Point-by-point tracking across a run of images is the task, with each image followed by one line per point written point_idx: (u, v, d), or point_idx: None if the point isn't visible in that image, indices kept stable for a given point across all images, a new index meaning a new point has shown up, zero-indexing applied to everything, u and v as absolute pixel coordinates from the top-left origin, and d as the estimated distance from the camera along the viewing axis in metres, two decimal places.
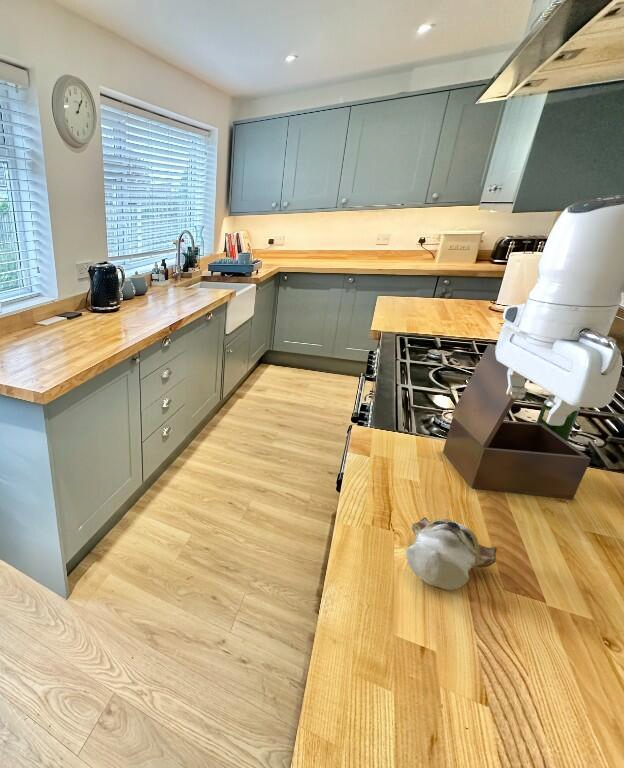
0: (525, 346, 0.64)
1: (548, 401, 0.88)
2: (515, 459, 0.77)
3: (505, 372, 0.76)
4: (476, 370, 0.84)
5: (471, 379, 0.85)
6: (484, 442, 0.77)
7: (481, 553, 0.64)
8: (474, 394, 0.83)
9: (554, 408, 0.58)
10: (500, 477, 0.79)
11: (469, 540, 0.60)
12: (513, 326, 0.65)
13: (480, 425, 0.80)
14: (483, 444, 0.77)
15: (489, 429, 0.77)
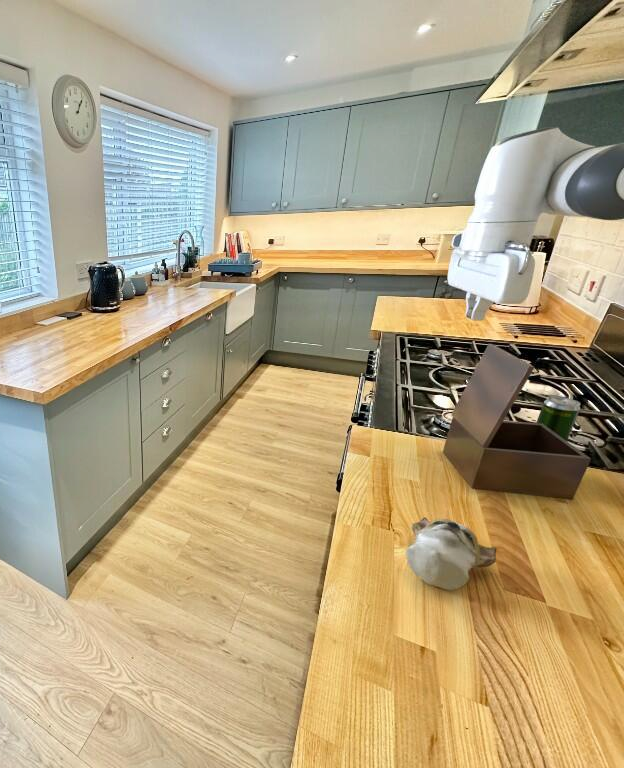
0: (468, 266, 0.76)
1: (548, 401, 0.88)
2: (515, 459, 0.77)
3: (505, 372, 0.76)
4: (476, 370, 0.84)
5: (471, 379, 0.85)
6: (484, 442, 0.77)
7: (481, 553, 0.64)
8: (474, 394, 0.83)
9: (475, 305, 0.74)
10: (500, 477, 0.79)
11: (469, 540, 0.60)
12: (459, 250, 0.77)
13: (480, 425, 0.80)
14: (483, 444, 0.77)
15: (489, 429, 0.77)
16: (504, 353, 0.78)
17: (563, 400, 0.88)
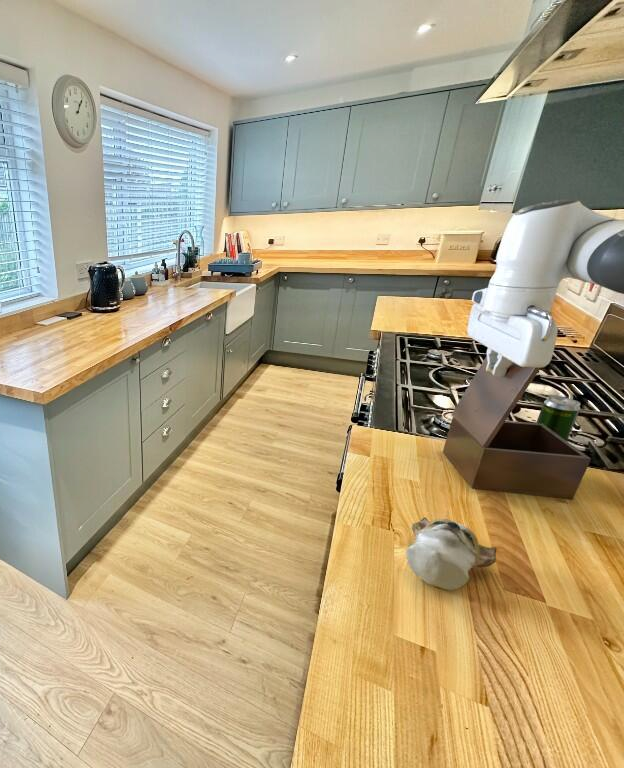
0: (489, 322, 0.79)
1: (548, 401, 0.88)
2: (515, 459, 0.77)
3: (509, 373, 0.76)
4: (479, 371, 0.84)
5: (474, 379, 0.85)
6: (484, 442, 0.77)
7: (481, 553, 0.64)
8: (476, 394, 0.83)
9: (497, 362, 0.76)
10: (500, 477, 0.79)
11: (469, 540, 0.60)
12: (479, 307, 0.80)
13: (480, 425, 0.79)
14: (483, 444, 0.77)
15: (490, 429, 0.77)
16: None
17: (563, 400, 0.88)
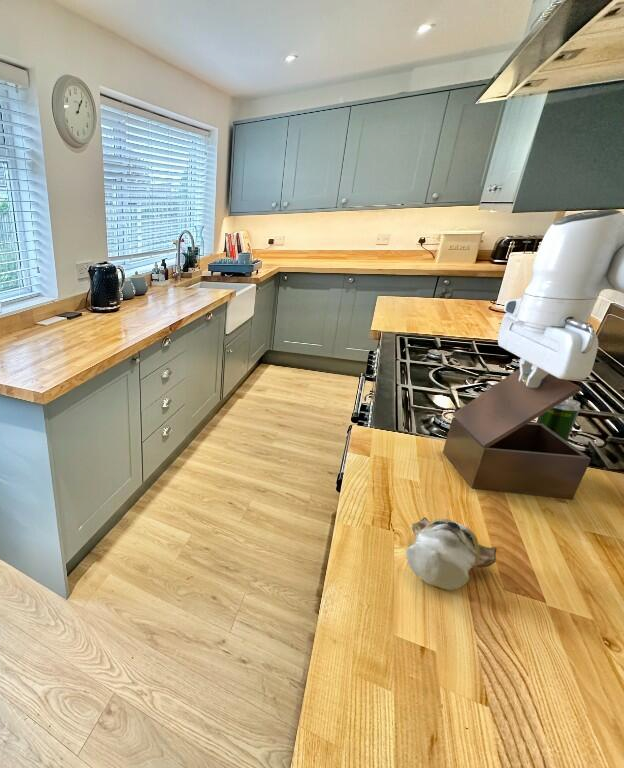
0: (522, 332, 0.78)
1: None
2: (515, 459, 0.77)
3: (543, 387, 0.75)
4: (503, 381, 0.84)
5: (493, 387, 0.85)
6: (487, 442, 0.77)
7: (481, 553, 0.64)
8: (491, 400, 0.83)
9: (531, 374, 0.75)
10: (500, 477, 0.79)
11: (469, 540, 0.60)
12: (512, 316, 0.79)
13: (487, 428, 0.79)
14: (485, 444, 0.77)
15: (499, 432, 0.77)
16: None
17: None
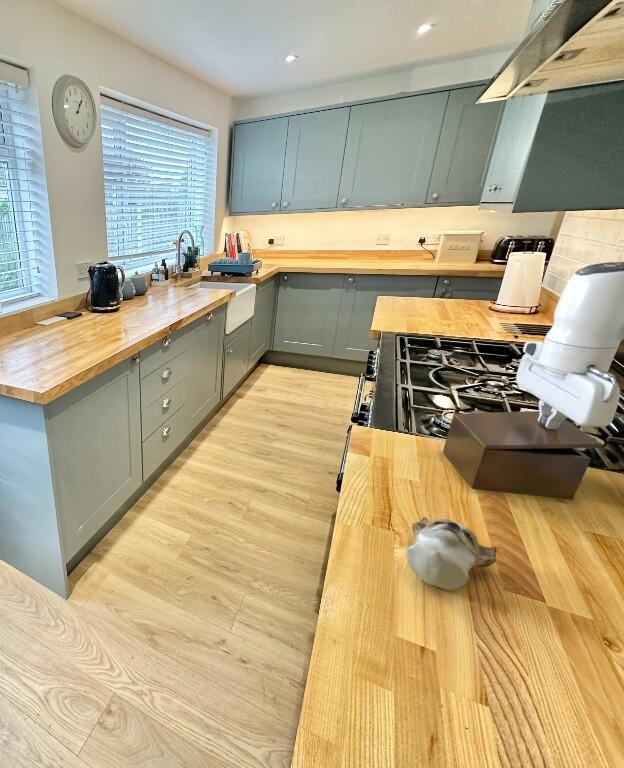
0: (542, 374, 0.79)
1: None
2: (515, 459, 0.77)
3: (562, 431, 0.77)
4: (518, 412, 0.85)
5: (506, 413, 0.86)
6: (490, 444, 0.77)
7: (481, 553, 0.64)
8: (501, 420, 0.84)
9: (551, 416, 0.77)
10: (500, 477, 0.79)
11: (469, 540, 0.60)
12: (532, 358, 0.80)
13: (493, 435, 0.80)
14: (487, 445, 0.77)
15: (505, 442, 0.77)
16: (570, 423, 0.79)
17: None
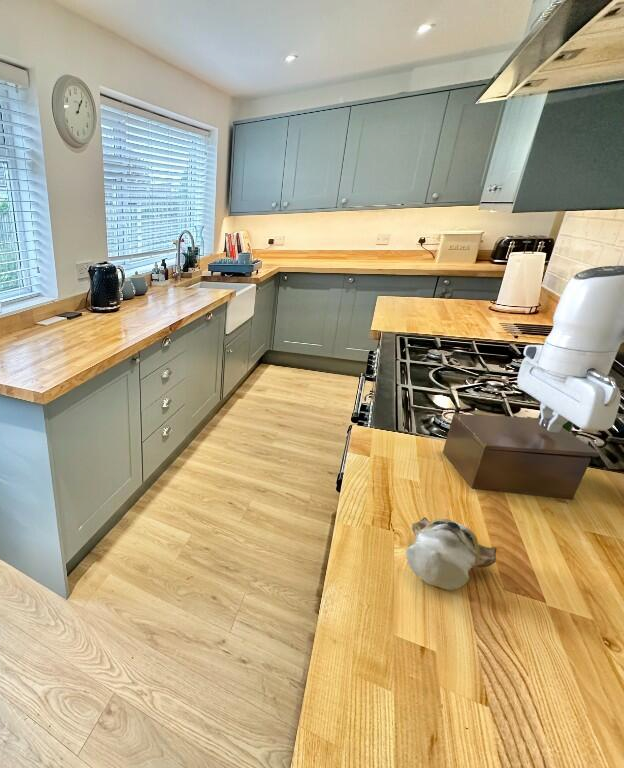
0: (542, 378, 0.79)
1: None
2: (515, 459, 0.77)
3: (560, 438, 0.77)
4: (517, 418, 0.86)
5: (505, 417, 0.86)
6: (490, 445, 0.77)
7: (481, 553, 0.64)
8: (501, 423, 0.84)
9: (553, 419, 0.77)
10: (500, 477, 0.79)
11: (469, 540, 0.60)
12: (532, 361, 0.80)
13: (493, 437, 0.80)
14: (487, 445, 0.77)
15: (505, 444, 0.77)
16: (568, 432, 0.79)
17: None
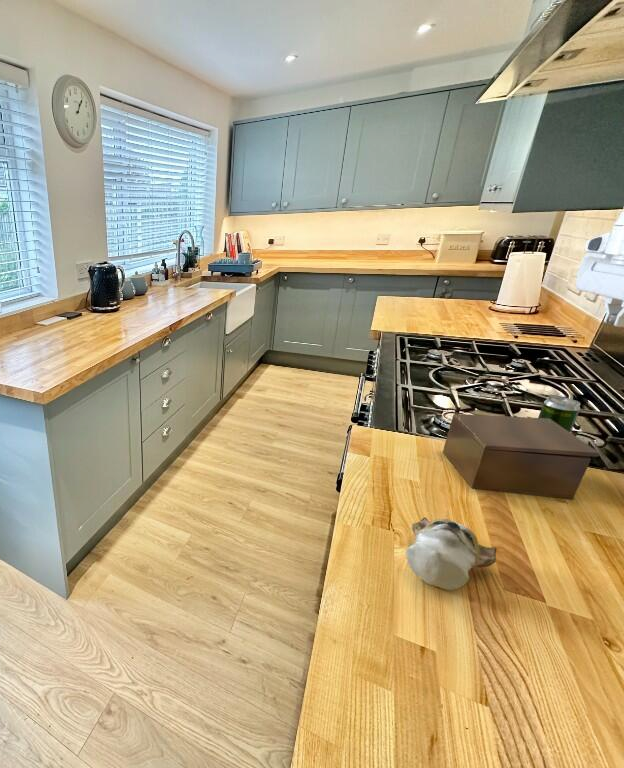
0: (608, 270, 0.74)
1: (548, 401, 0.88)
2: (515, 459, 0.77)
3: (560, 438, 0.77)
4: (517, 418, 0.86)
5: (505, 417, 0.86)
6: (490, 445, 0.77)
7: (481, 553, 0.64)
8: (501, 423, 0.84)
9: (622, 311, 0.71)
10: (500, 477, 0.79)
11: (469, 540, 0.60)
12: (596, 254, 0.75)
13: (493, 437, 0.80)
14: (487, 445, 0.77)
15: (505, 444, 0.77)
16: (568, 432, 0.79)
17: (563, 400, 0.88)
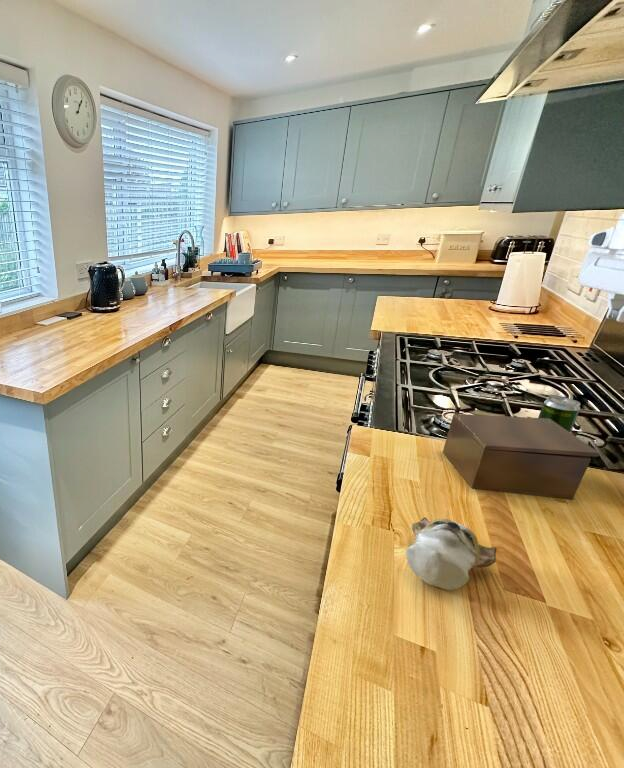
0: (612, 265, 0.73)
1: (548, 401, 0.88)
2: (515, 459, 0.77)
3: (560, 438, 0.77)
4: (517, 418, 0.86)
5: (505, 417, 0.86)
6: (490, 445, 0.77)
7: (481, 553, 0.64)
8: (501, 423, 0.84)
9: None
10: (500, 477, 0.79)
11: (469, 540, 0.60)
12: (600, 249, 0.75)
13: (493, 437, 0.80)
14: (487, 445, 0.77)
15: (505, 444, 0.77)
16: (568, 432, 0.79)
17: (563, 400, 0.88)
